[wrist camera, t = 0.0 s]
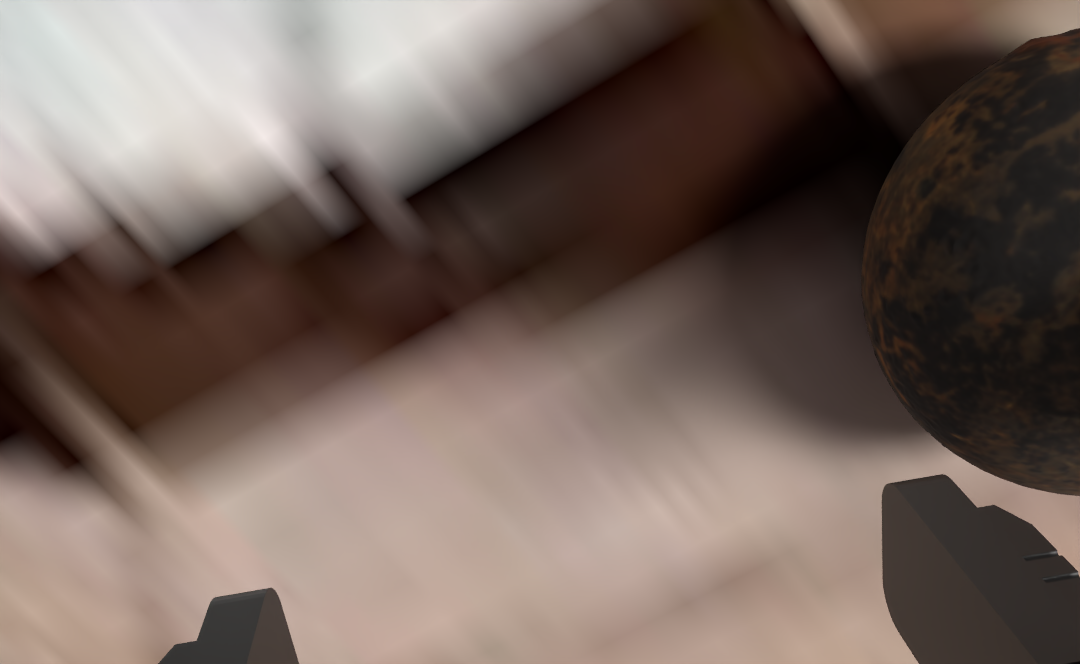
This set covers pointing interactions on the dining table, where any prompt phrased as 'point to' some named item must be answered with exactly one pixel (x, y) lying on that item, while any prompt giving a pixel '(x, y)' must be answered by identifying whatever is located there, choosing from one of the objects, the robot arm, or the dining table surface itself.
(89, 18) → the dining table surface
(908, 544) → the robot arm
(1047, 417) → the glass bottle
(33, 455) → the dining table surface
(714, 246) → the dining table surface
